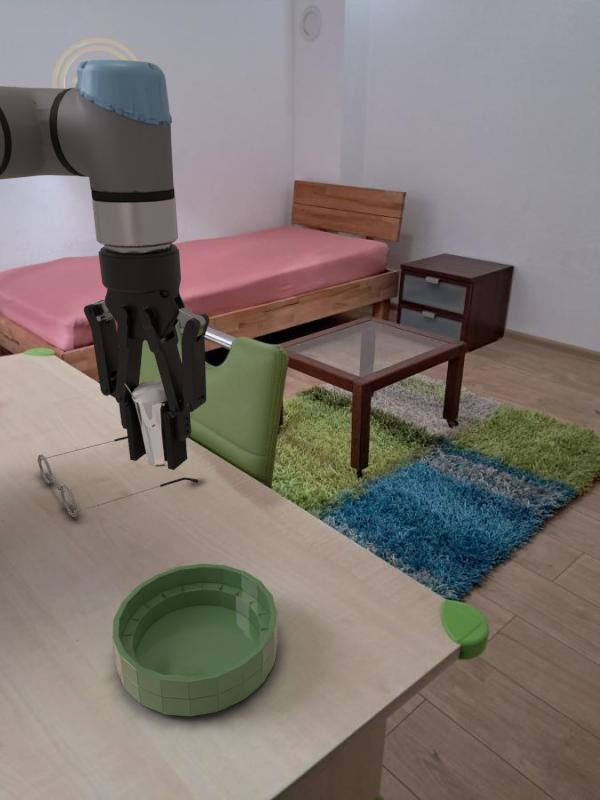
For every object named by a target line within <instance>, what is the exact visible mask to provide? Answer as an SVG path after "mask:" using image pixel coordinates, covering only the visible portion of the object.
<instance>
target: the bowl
mask: <svg viewBox="0 0 600 800" xmlns="http://www.w3.org/2000/svg"><path fill="white" fill-rule="evenodd" d="M113 617H114V618H113V621H112V635H111V636H112V644H113V651H114V657H115V658H114V659H115V665H116V666H115V667H116V671H117V674H118V676H119V679H120V682H121V684H122V686H123V689H124V690H125V692H127V693H128V694H129V695H130V696H131V697H132V698H133V699H134V700H136V701H137V703H139V704H140V705H141V706H143V707H146V708H148V709H151V710H153V711H155V712H158V713H160V714H163V715H168V716H179V717H196V716H202V715H207V714H212V713H217V712H221V711H223V710H225V709H227V708H230V707H232V706H234V705H235V704H238V703H240V702H242V701H244V700H245V699H247V698H248V697H249V696H250V695H251V694H252V693H253V692H255V691H256V690H257V689H258V688H259V687H260V686H261V685H263V683H265V681H266V679H267V677H268V675H269V674H270V672H271V670H272V668H273V667H274V665H275V663H276V657H277V650H278V610H277V607H276V603H275V599H274V596H273V594H272V593H271V592H270V590H269V589H268V588H267V586H265V584H264V583H263V582H262V580H260V579H258V578H257V577H255V576H254V575H252V574H250V573H249V572H247V571H245V570H243V569H242V570H241V569H239V568H237V567H232V566H229V565H227V564H216V563H215V564H213V563H197V564H188V565H182V566H177V567H174V568H171V569H168V570H165V571H161V572H159V573H156V574H154V575H153V576H152V577H150V578H148V579H147V580H145V581H143V582H141V583H140V584H138V585H137V586H136V587H135V588H134V589H133V590H132V591H131V592H130V593H129V594H128V595H127V596H126V597H125V598H124V599H123V600H122V601H121V603H120V605H119V607H118V609H117V611H116V613H115V615H114V616H113Z"/></svg>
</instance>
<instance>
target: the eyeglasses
mask: <svg viewBox="0 0 600 800" xmlns="http://www.w3.org/2000/svg"><path fill="white" fill-rule="evenodd" d="M124 440H128V436H127V435H126V436H123V437H118V438H115V439H113V440H109V441H107V442H102V443H98V444H95V445H90V446H86V447H81V448H79V449H74V450H71V451H66V452H63V453H59V454H55V455H51V456H47V457H45V456H44V454H39V455H37V459H36V461H37V463H38V467H39V471H40V474H41V475H42V477H43V479H44V481H45V482H46V483H47V484H52V483H53V485H54V486H55V488H56V489H57V490H58V491H60V497H61V500H62V502H63V505H64V507H65V510H66V511H67V513H68V514H69V515H70V516H71V517H72V518H76V517H77V516H78V515H79V514H81V513H82V512H83V511H86V510H89V509H92V508H96V507H100V506H102V505H105V504H109V503H111V502H115V501H118V500H121V499H125V498H128V497H131V496H134V495H136V494H137V495H138V494H140V493H144V492H146V491H150V490H154V489H157V488H163V487H165V486H169V485H172V484H175V483H178V482H182V481H190V482H192V483H195V484H198V483H199V479H197V478H191V477H187V476H186V477H180V478H177V479H174V480H170V481H168V482H167V481H166V482H164V483H161V484H159V485H158V486H157V485H156V486H154V487H152V488H151V487H150V488H147V489H144V490H141V491H138V492H135V493H132V494H129V495H126V496H122V497H119V498H116V499H115V498H114V499H112V500H109V501H106V502H102V503H100V504H96V505H93V506H90V507H87V508H83V509H78V508H77V503H76V500H75V498H74V495H73V493H72V491H71V489H70V488H69V487H68V486H67V485H66V484H61V485H60V484H59V483H58V482H57V480H56V479H55V477H54V476H53V473H52V468H51V466H50V464H49V461H48V460H47V459H50V458H54V457H58V456H62V455H66V454H70V453H74V452H77V451H81V450H85V449H89V448H92V447H96V446H101V445H105V444H109V443H112V442H119V441H124ZM42 461H43V462H44V464H45V466H46V468H47V472H46V473H45V471H44V468H43V464H42ZM47 476H48V477H47ZM48 478H49V479H48ZM64 489H65V491H66V492H67V494H68V496H69V498H70V501H71V504H72V508H73V512H72V511H71V509H70V507H69V505H68V502H67V499H66V496H65V491H64Z"/></svg>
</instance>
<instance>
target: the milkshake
mask: <svg viewBox="0 0 600 800" xmlns="http://www.w3.org/2000/svg"><path fill="white" fill-rule="evenodd" d="M124 385H125V386H126V388H127V389H128V391H129V392H130V394H131V395H132V399H133V403H134V407H135V411H136V415H137V419H138V422H139V426H140V431H141V435H142V440H143V444H144V449H145V457H146V462H147V464H148V466H151V467H154V468H161V467H162V468H163V467H168V463H167V452H166V441H165V429H164V418H163V414H164V413H166V412H167V411H168V410H169V406H168V402H167V399H166V395H165V392H164V388H163V384H162V381H161V380H158V379H152V380H144V381H142V382H141V383H139V386H138V387H137V388H135V389H134V391H133V392H132V393H131V391H130V390H129V388H128V387H127V385H126V384H125V383H124Z"/></svg>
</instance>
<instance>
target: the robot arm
mask: <svg viewBox="0 0 600 800" xmlns="http://www.w3.org/2000/svg"><path fill="white" fill-rule="evenodd" d="M76 78H77V79H76V80H77V81H76V85H75V87H69V88H60V87H57V88H55V87H23V86H21V87H20V86H5V85H0V180H9V179H19V178H29V177H39V176H59V177H60V176H64V177H65V176H67V177H82V178H84V177H85V178H87V177H88V180H89V188H90V192H91V203H92V211H93V220H94V230H95V231H94V232H95V240H96V242H98V243H99V244H100V245H101V246H102V245H103V246H102V247H101V248H100V249H99V251H98V254H97V255H98V261H99V269H100V277H101V283H102V285H103V287H104V288H105V289H106V293H105V296H104V299H101V300H97V301H95V302H92V303H90V304H87V305H85V306H84V308H83V313H84V315H85V318H86V320H87V322H88V325H89V326H90V331H91V337H92V341H93V342H92V343H93V350H94V356H95V362H96V368H97V375H98V381H99V388H100V393H101V394H102V395H103V396H105V397H108V396H111V397H112V398H114V399H115V401H116V402H117V404H118V407H119V416H120V424H121V426H122V428H123V429H124V430H126V436H128V438H127V444H128V445H127V446H128V453H129V454H128V455H129V460H130V461H134V462H137V461H138V460H140V459H141V458H142V457H143V456H146V454H145V449H144V444H143V440H142V435H141V431H140V426H139V422H138V419H137V415H136V411H135V407H134V403H133V399H132V395H131V394H130V392H129V391H128V389H127V388H126V386H125V385H124V383H125V384H126V385H127V387H128V388H129V390H130V391H131V393H132V392H133V391H134V389H135V388H137V387H138V386H139V384H140V378H141V367H142V357H143V347H144V342H145V341H146V342H147V345H148V349H149V351H150V352H151V353H153V355H154V358H155V362H156V366H157V369H158V373H159V377H160V381H162V384H163V388H164V392H165V395H166V399H167V402H168V406H169V410H168V411H167V412H166V413H164V414H163V418H164V429H165V441H166V452H167V463H168V465H167V469H168V470H171V471H175V470H176V469H177V468H178V467H180V466H181V465H182V464H183V463H184V462H186V461H187V460H188V449H187V439H188V438H190V436H191V434H192V424H191V413H193V412H195V411H196V410H197V409H199V408H200V407H202V405H204V404H206V402H207V375H206V374H207V373H206V371H207V370H206V369H207V368H206V339H205V338H206V335H207V334H206V333H207V330H208V327H209V324H210V317H209V315H207V314H206V313H204V312H203V313H200V314H197V313H194V312H193V311H191V310H190V309H188V308H186V306H185V305H186V304H185V302H184V300H183V298H182V296H181V294H180V293H181V292H180V288H181V281H182V272H181V269H182V268H181V257H180V248H179V247H177V245H176V244H173V243H175V242H176V241H177V240H178V238H179V233H178V231H179V230H178V216H177V202H176V192H175V183H174V166H173V149H172V148H173V146H172V123H173V118H172V115H171V112H170V105H169V96H168V87H167V79H166V75H165V73H164V71H163V70H162V68H161V67H160V66H158V65H157V64H155V63H152V62H148V61H141V60H140V61H139V60H125V59H91V60H84V61H81V62H80V63H79V64H78V66H77V69H76ZM116 323H117V325H116ZM178 323H179V325H180V328H179V329H178V331H179V334H181V335H182V336H181V341H180V347H181V348H180V349H181V351H179V346H178V344H179V335H178V331H177V327H176V326H177V324H178ZM180 352H181V354H180Z"/></svg>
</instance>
